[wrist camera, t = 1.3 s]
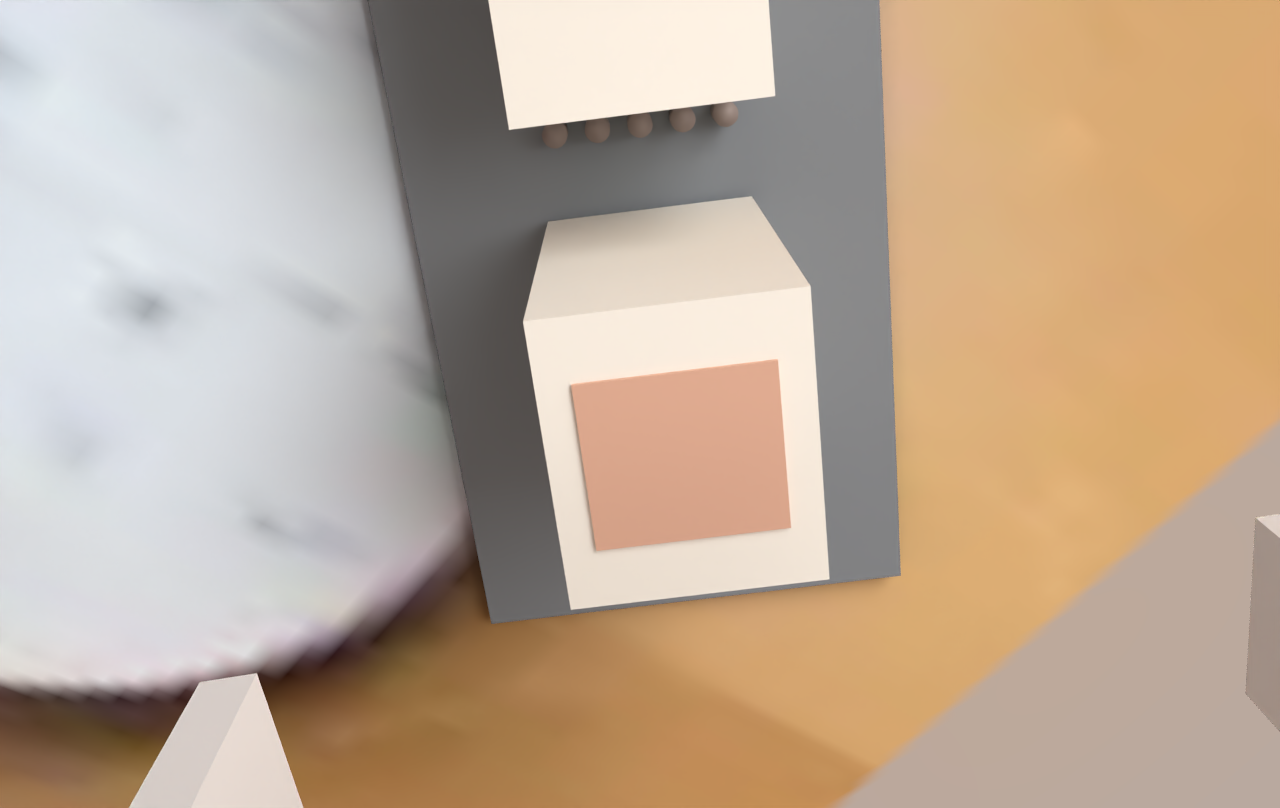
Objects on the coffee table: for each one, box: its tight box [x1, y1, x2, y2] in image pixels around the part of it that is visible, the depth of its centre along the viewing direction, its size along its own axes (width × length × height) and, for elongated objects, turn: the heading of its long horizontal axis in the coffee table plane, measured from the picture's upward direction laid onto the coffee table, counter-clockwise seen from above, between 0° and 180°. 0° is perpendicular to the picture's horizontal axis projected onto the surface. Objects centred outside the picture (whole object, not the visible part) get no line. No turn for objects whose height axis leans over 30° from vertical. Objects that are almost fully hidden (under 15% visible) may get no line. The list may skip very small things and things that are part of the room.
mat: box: [368, 0, 901, 624], centre depth 32 cm, size 14×29×1 cm, turn 7°
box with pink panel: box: [523, 196, 829, 610], centre depth 28 cm, size 6×7×10 cm
